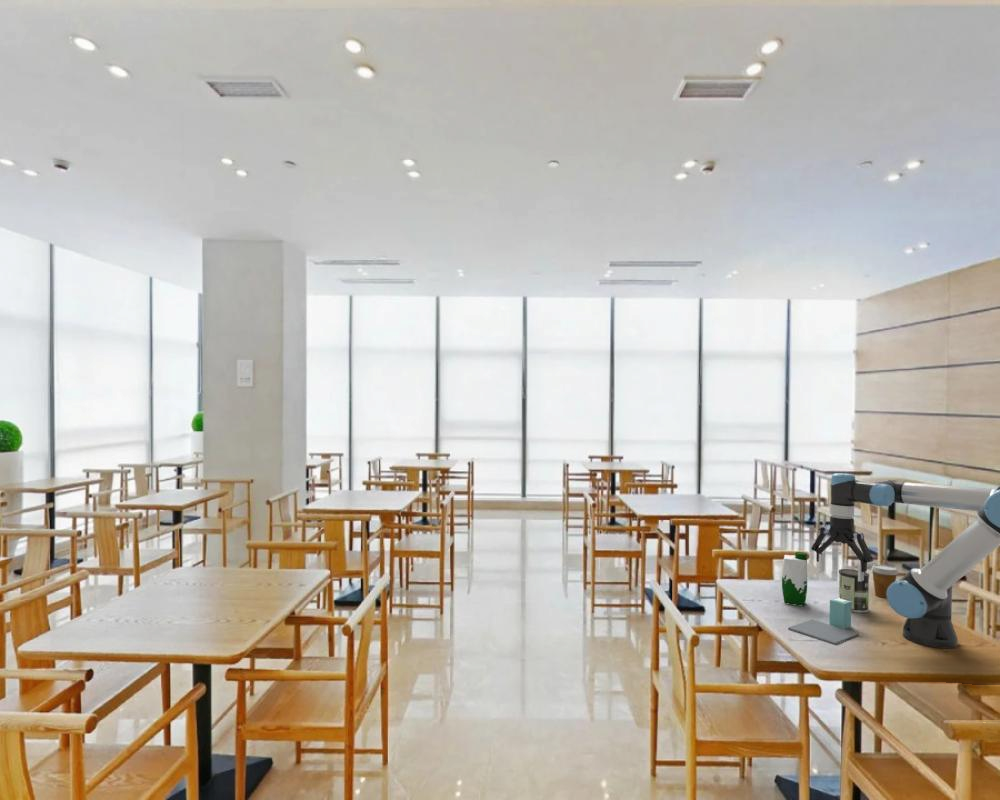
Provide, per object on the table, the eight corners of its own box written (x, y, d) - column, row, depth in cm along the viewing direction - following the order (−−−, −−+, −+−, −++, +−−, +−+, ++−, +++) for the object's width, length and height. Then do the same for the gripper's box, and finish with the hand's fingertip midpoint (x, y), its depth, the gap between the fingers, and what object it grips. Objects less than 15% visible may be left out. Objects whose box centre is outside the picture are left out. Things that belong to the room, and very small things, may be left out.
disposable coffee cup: (903, 598, 248) (903, 569, 248) (884, 599, 246) (884, 570, 246) (883, 591, 257) (884, 564, 257) (865, 592, 255) (865, 564, 255)
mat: (858, 635, 205) (858, 633, 205) (835, 644, 196) (835, 642, 196) (812, 620, 218) (812, 619, 218) (788, 629, 209) (788, 627, 209)
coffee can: (868, 607, 236) (869, 571, 236) (868, 614, 227) (869, 577, 227) (838, 602, 241) (839, 567, 241) (837, 609, 232) (838, 572, 232)
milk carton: (807, 607, 233) (808, 556, 233) (781, 603, 237) (782, 553, 237) (806, 601, 241) (807, 551, 241) (781, 597, 245) (782, 548, 245)
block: (850, 626, 213) (851, 600, 213) (844, 629, 210) (844, 603, 210) (836, 622, 217) (836, 597, 217) (829, 624, 214) (829, 599, 215)
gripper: (884, 521, 206) (883, 583, 206) (812, 510, 227) (811, 566, 227) (874, 523, 202) (873, 586, 202) (802, 511, 222) (800, 568, 222)
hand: (840, 576), depth 214 cm, fingers open, 13 cm apart
